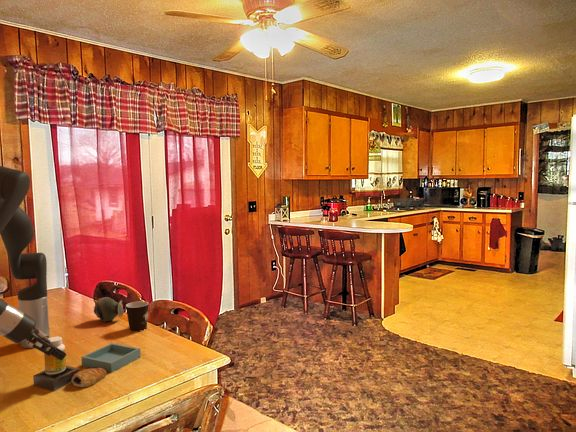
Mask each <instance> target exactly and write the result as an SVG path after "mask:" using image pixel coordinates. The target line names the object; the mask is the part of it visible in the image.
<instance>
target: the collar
mask: <svg viewBox="0 0 576 432" xmlns="http://www.w3.org/2000/svg"><path fill="white" fill-rule="evenodd" d="M79 371H80V368H79V367H74V366H70V365H66V369H65V370H64V371H63V372H61V373H58V374H52V375H50V374H46V373H45V370H43V371H40V372H38V373H35V374H34V375H32V377H33V386H35V387H37V388H41V389H45V390H48V391H53V392H56V391H58V390H59V389H61V388H64V387H65V386H67V385H69V384H71V383H72V382H71V380H72V377H73V376H74V374H76V373H77V372H79Z"/></svg>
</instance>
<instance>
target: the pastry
mask: <svg viewBox="0 0 576 432" xmlns="http://www.w3.org/2000/svg"><path fill="white" fill-rule="evenodd" d="M106 376H107V372H106V370H104V369H103V368H96V369H95V368H86V369H85V368H84V369H82V370H79V372H77V373H76V374H74V376H73V377H72V380H71V383H72V385H73V386H74V387H79V388H88V387H91V386H92V385H95V384H98V383H99V382H100V381H102V380H104V379H105V378H106Z"/></svg>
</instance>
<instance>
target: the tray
mask: <svg viewBox="0 0 576 432" xmlns="http://www.w3.org/2000/svg"><path fill="white" fill-rule="evenodd" d="M141 357H142V356H141V348H139V347H133V346H129V345H124V344H123V345H122V344H119V343H114V342H110V343H109V344H107V345H105V346H102V347H101V348H98V349H96V350H93V351H91V352H89V353H86V354H85V355H83V356H81V357H80V358H81V366H82V367H84V368H87V369H91V368H95V369H96V368H103V369H104V370H106V373H111V374H112V373H115V372H116V371H118V370H119V369H122V368H123V367H125V366H127V365H129V364H130V363H133V362H135V361H137V360H138V359H140V358H141Z"/></svg>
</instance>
